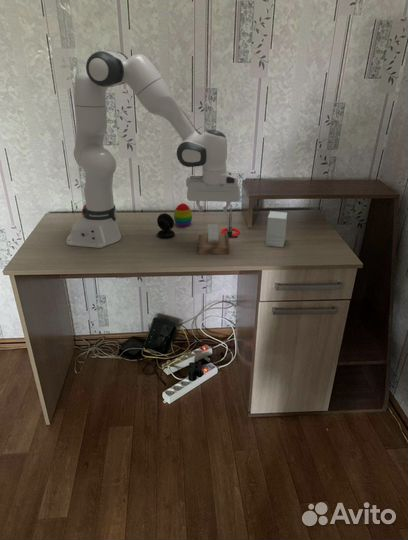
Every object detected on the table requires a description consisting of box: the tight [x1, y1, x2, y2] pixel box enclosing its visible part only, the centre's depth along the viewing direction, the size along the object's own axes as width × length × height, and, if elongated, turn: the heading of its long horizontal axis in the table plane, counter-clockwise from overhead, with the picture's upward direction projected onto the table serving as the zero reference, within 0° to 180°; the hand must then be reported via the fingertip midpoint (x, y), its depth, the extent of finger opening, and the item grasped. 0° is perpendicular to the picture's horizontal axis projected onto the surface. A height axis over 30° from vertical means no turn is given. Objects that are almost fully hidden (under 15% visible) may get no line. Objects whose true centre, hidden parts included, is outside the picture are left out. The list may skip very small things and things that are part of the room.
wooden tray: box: [198, 231, 230, 255], centre depth 164 cm, size 12×12×4 cm
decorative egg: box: [173, 203, 193, 228], centre depth 183 cm, size 8×8×10 cm
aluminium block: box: [207, 223, 220, 244], centre depth 162 cm, size 4×6×6 cm
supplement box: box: [265, 210, 288, 248], centre depth 166 cm, size 7×7×13 cm
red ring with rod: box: [220, 207, 241, 239], centre depth 175 cm, size 8×13×9 cm
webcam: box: [156, 212, 176, 240], centre depth 173 cm, size 8×8×10 cm
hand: (212, 211), depth 157 cm, fingers open, 8 cm apart
